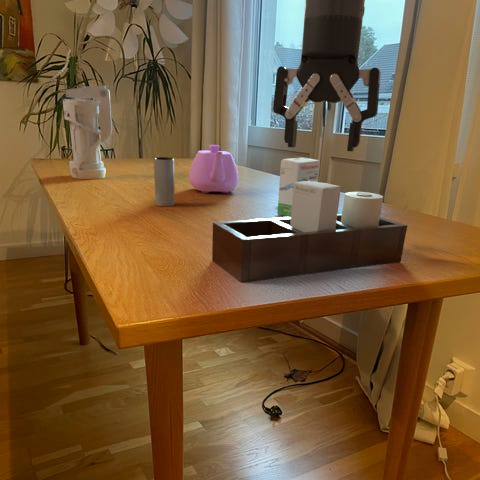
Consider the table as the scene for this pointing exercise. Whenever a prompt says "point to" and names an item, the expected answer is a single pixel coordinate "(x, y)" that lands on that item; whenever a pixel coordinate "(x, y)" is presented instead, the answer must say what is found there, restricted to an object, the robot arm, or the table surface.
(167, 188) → the grey cylinder
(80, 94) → the lantern
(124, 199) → the table surface
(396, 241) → the box
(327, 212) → the cosmetic box
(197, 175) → the teapot
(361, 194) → the towel roll
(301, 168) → the ink box
